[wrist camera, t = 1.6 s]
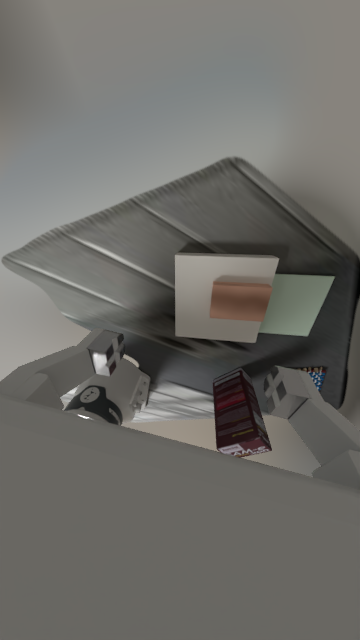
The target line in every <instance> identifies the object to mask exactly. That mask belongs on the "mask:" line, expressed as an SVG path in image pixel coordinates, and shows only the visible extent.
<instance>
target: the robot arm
mask: <svg viewBox="0 0 360 640" xmlns="http://www.w3.org/2000/svg"><path fill="white" fill-rule="evenodd" d="M123 340H124V336H123V334H122V333H118V332H113V331H109V330H104V329H100V328H95V329H94V330H93V331H92V332H90V333H89V335H87V337H85V338H84V339H83V340H82V341H81V342H80V343H79V344H78V345H77V346H72V347H69V348H67V349H64V350H61V351H59V352H56V353H54V354H51V355H48V356H46V357H43V358H41V359H38V360H35V361H33V362H30V363H28V364H25V365H22V366H20V367H18V368H17V369H16V370H14V371H13V372H12V373H11V374H9V375H8V376H7V377H6V378H4V379H3V380H2V381H1V382H0V640H360V430H359V429H357V428H356V427H355V426H354V425H353V424H352V423H351V422H349V421H348V420H347V419H346V418H345V417H344V416H343V415H341V414H340V413H339V412H338V411H337V410H336V409H335V408H333V407H332V406H331V405H330V404H329V403H326V402H324V400H323V398H322V397H321V395H320V393H319V391H318V389H317V387H316V386H315V384H314V382H313V380H312V378H311V376H310V375H309V373H307V372H306V371H301V370H295V369H290V368H285V367H280V366H275V365H274V366H273V367H272V368H271V369H270V372H271V374H269V375H267V376H266V378H265V380H264V385H263V386H264V393H265V395H266V396H267V397H268V398H269V399H268V400H267V405H268V409H269V413H270V415H273V416H277V417H281V418H284V419H288V421H289V423H290V424H291V425H292V427H293V428H294V429H295V431H296V432H297V433H298V435H299V436H300V437H301V439H302V440H303V442H304V443H305V444H306V445H307V447H308V448H309V449H310V451H311V452H312V454H313V455H314V456H315V458H316V459H317V460H318V462H319V463H320V465H321V467H319V468H317V469H316V470H314V471H313V472H312V476H313V477H310V476H306V475H302V474H299V473H295V472H291V471H287V470H284V469H280V468H276V467H273V466H269V465H265V464H261V463H258V462H254V461H250V460H246V459H243V458H239V457H235V456H232V455H228V454H224V453H220V452H217V451H213V450H209V449H205V448H202V447H198V446H194V445H190V444H187V443H183V442H179V441H176V440H171V439H168V438H164V437H161V436H156V435H153V434H149V433H146V432H142V431H138V430H134V429H130V428H126V427H123V426H121V424H123V423H126V422H129V421H131V420H132V419H133V418H134V415H135V413H136V412H137V413H140V410H144V409H145V407H146V403H147V397H148V391H149V385H150V377H149V376H148V375H147V374H145V373H143V372H141V371H140V370H139V369H138V368H137V367H136V366H135V365H134V364H133V363H131V362H130V361H128V360H126V359H124V358H122V357H123V355H124V352H125V345H124V344H123V342H122V341H123ZM78 385H79V387H78V389H77V390H76V392H75V394H74V396H75V397H74V398H73V399H72V400H71V402H69V403H68V405H67V406H66V409H65V410H64V411H63V410H62V409H63V408H64V405H63V403H62V401H61V399H60V397H61V396H63V395H64V394H66V393H67V392H69V391H70V390H72V389H74V388H75V387H77V386H78Z"/></svg>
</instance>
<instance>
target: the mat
mask: <svg viewBox="0 0 360 640" xmlns="http://www.w3.org/2000/svg"><path fill="white" fill-rule="evenodd" d="M334 278H335V277H334V276H319V275H295V274H275V275H274V279H273V282H272V286H271V287H272V288H273V289H272V293H271V296H270V300H269V303H268V307H267V310H266V313H265V317H264V320H263V322H261V324H260V328H259V331H258V332H260V333H273V334H286V335H298V336H308V334H309V332H310V330H311V328H312V326H313V323H314V321H315V319H316V317H317V315H318V313H319V311H320V308H321V306H322V304H323V302H324V300H325V298H326V295H327V293H328V291H329V289H330V287H331V285H332V283H333V280H334Z"/></svg>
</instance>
